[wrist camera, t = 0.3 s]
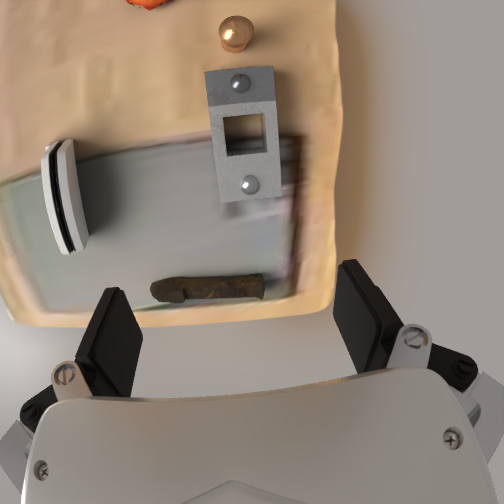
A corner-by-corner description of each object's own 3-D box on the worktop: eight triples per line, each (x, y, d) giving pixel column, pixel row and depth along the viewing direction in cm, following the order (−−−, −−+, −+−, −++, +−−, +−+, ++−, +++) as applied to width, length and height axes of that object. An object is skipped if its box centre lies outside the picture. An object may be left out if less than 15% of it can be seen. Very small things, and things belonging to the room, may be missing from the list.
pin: (218, 30, 28) (217, 17, 22) (247, 28, 28) (252, 14, 22) (221, 55, 29) (220, 46, 24) (250, 52, 30) (255, 43, 24)
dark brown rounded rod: (263, 269, 47) (267, 285, 43) (261, 288, 49) (264, 305, 45) (150, 268, 45) (144, 284, 41) (153, 287, 47) (148, 304, 43)
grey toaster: (47, 143, 32) (29, 153, 24) (74, 136, 34) (61, 144, 26) (65, 239, 40) (56, 269, 32) (90, 233, 42) (85, 263, 34)
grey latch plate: (206, 75, 31) (204, 71, 27) (268, 69, 31) (273, 65, 27) (220, 193, 39) (220, 204, 36) (276, 187, 40) (282, 197, 36)
